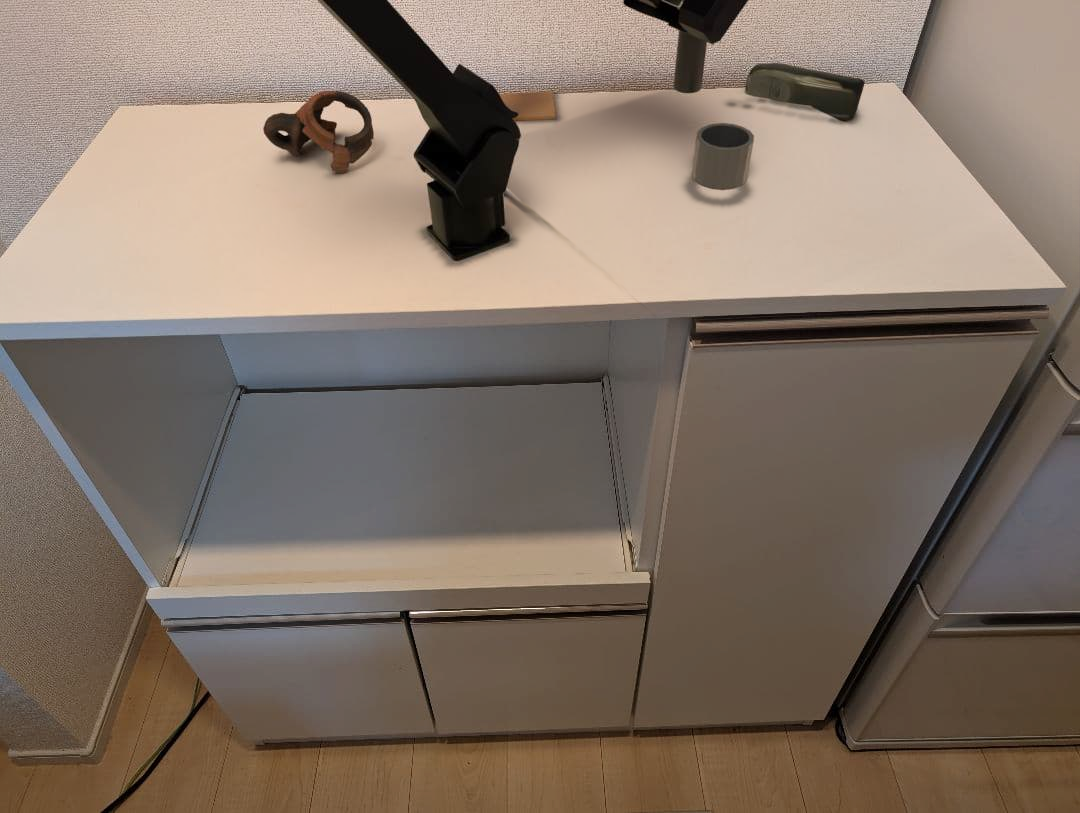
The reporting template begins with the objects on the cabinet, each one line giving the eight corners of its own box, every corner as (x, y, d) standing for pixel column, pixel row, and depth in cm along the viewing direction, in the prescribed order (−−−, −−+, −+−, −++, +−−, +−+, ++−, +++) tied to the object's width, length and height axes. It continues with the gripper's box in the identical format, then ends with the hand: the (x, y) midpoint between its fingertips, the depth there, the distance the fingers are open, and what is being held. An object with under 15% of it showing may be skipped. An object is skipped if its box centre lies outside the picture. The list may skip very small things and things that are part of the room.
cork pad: (483, 122, 99) (483, 118, 99) (483, 97, 104) (483, 94, 104) (555, 118, 99) (555, 115, 99) (552, 94, 104) (552, 91, 104)
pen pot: (714, 208, 84) (722, 155, 80) (679, 184, 87) (685, 132, 83) (756, 191, 86) (765, 139, 82) (720, 169, 89) (727, 118, 85)
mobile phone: (867, 74, 95) (741, 55, 99) (864, 84, 93) (736, 65, 97) (855, 114, 98) (734, 94, 102) (852, 125, 96) (729, 104, 100)
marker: (691, 96, 85) (709, -62, 74) (666, 88, 86) (681, -68, 75) (708, 86, 86) (728, -70, 76) (683, 78, 88) (699, -76, 77)
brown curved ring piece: (355, 131, 99) (368, 82, 92) (372, 194, 96) (388, 149, 89) (254, 128, 93) (260, 77, 87) (270, 196, 91) (277, 148, 84)
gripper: (758, -137, 63) (823, -16, 75) (614, -173, 74) (690, -62, 86) (673, -10, 66) (748, 88, 78) (546, -62, 77) (629, 30, 89)
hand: (703, 30), depth 83 cm, fingers closed on marker, 3 cm apart
